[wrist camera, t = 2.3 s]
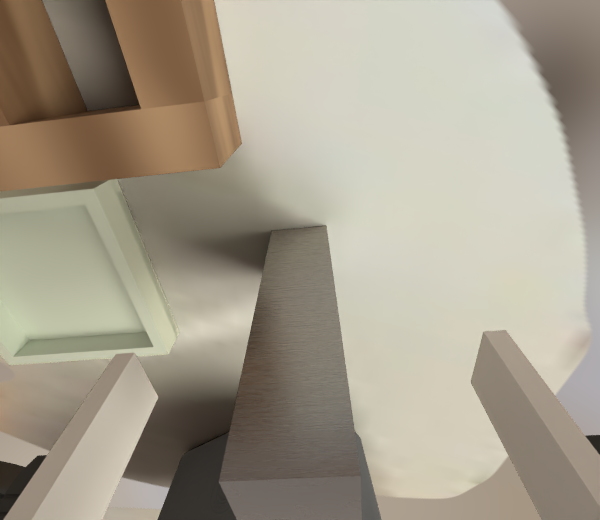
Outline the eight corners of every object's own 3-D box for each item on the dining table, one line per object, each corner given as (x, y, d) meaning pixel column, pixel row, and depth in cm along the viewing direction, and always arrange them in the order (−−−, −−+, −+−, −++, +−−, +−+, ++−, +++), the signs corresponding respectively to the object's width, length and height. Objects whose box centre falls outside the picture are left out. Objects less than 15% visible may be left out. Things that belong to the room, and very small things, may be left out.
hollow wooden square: (65, 163, 18) (-11, 192, 13) (-56, -91, 13) (-242, -174, 8) (241, 143, 17) (220, 167, 13) (188, -133, 12) (122, -247, 8)
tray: (31, 343, 25) (9, 365, 23) (-77, 197, 19) (-120, 211, 17) (179, 332, 24) (168, 354, 22) (115, 176, 18) (93, 188, 16)
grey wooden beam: (279, 276, 21) (246, 539, 9) (271, 230, 20) (218, 481, 8) (329, 272, 21) (361, 536, 9) (326, 225, 19) (360, 476, 7)
